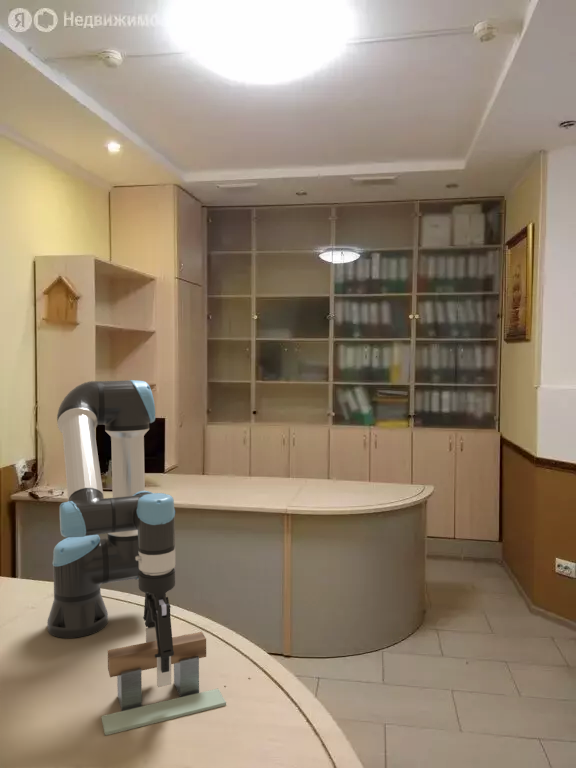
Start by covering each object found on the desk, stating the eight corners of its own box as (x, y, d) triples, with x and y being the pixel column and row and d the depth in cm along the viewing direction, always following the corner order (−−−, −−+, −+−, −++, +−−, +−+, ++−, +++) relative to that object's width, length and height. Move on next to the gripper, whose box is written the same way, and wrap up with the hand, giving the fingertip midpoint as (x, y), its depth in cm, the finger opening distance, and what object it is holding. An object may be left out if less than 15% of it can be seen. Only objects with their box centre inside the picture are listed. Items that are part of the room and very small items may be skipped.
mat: (101, 719, 118) (101, 716, 118) (218, 691, 128) (218, 688, 128) (104, 735, 113) (104, 732, 113) (226, 705, 123) (226, 702, 123)
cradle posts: (117, 695, 126) (116, 659, 126) (191, 678, 132) (191, 643, 132) (121, 712, 120) (121, 673, 120) (199, 693, 127) (198, 657, 126)
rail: (107, 668, 124) (107, 650, 123) (202, 649, 132) (201, 631, 131) (110, 677, 120) (109, 658, 120) (206, 656, 128) (206, 638, 128)
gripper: (129, 553, 134) (131, 647, 135) (149, 593, 112) (151, 705, 114) (162, 549, 137) (164, 641, 138) (188, 587, 115) (189, 696, 117)
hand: (158, 670), depth 126 cm, fingers open, 11 cm apart
